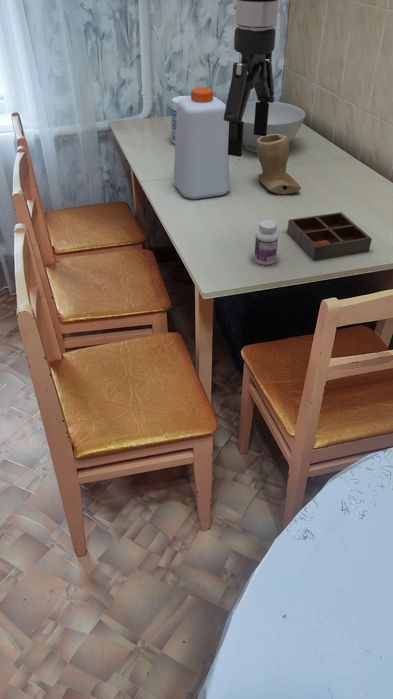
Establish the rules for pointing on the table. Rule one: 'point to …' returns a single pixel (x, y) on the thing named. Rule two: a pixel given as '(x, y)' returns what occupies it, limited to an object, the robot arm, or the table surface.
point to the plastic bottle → (201, 146)
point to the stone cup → (275, 164)
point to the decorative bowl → (272, 122)
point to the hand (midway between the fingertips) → (247, 144)
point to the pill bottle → (266, 243)
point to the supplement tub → (175, 115)
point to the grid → (328, 235)
